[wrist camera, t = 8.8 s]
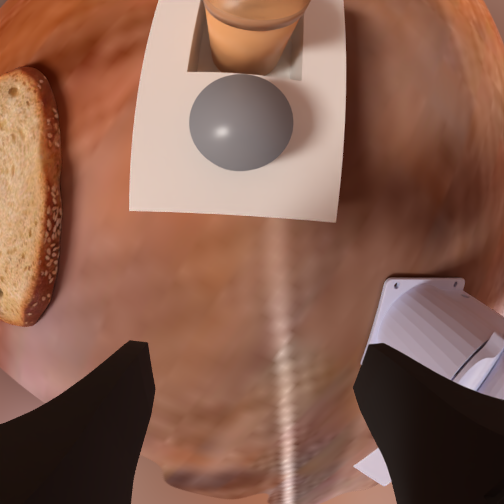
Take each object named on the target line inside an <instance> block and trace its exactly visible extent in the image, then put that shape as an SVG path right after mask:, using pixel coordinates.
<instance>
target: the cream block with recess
mask: <svg viewBox="0 0 504 504" xmlns="http://www.w3.org/2000/svg"><path fill="white" fill-rule="evenodd" d="M345 107H346V37H345V17H344V3H343V0H311V1H310V3H309V5H308V7H307V9H306V10H305V12H304V14H303V15H302V17H301V18H300V19H299V21H298V23H297V25H296V27H295V29H294V31H293V33H292V35H291V37H290V39H289V41H288V43H287V45H286V47H285V49H284V51H283V53H282V55H281V57H280V59H279V61H278V63H277V65H276V67H275V68H274V69H273V70H272V71H271V72H270V73H269V74H267V75H266V76H262V75H252V74H239V73H222V72H221V71H220V70H219V69H218V68H217V67H216V66H215V64H214V62H213V59H212V54H211V47H210V39H209V32H208V25H207V17H206V10H205V6H204V3H203V0H159V1H158V5H157V8H156V11H155V15H154V18H153V22H152V26H151V30H150V34H149V38H148V42H147V47H146V51H145V56H144V61H143V66H142V72H141V77H140V83H139V89H138V96H137V103H136V111H135V119H134V128H133V139H132V151H131V167H130V193H129V211H157V212H185V213H208V214H227V215H244V216H260V217H274V218H287V219H300V220H312V221H323V222H334V223H336V217H337V209H338V200H339V191H340V181H341V171H342V159H343V146H344V129H345Z"/></svg>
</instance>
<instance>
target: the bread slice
mask: <svg viewBox="0 0 504 504" xmlns="http://www.w3.org/2000/svg"><path fill="white" fill-rule="evenodd" d="M61 169H62V156H61V136H60V128H59V118H58V110H57V105H56V101H55V98H54V95H53V91H52V89H51V87H50V84H49V82H48V80H47V78H46V77H45V76H44V75H43V73H42V72H40V71H39V70H37V69H36V68H33V67H27V66H24V67H18V68H15V69H14V70H12V71H9V72H6V73H4V74H2V75H1V76H0V320H1V321H3V322H6V323H8V324H12V325H17V326H22V327H28V326H33V325H34V324H35V323H36V322H37V321H38V319H39V317H40V316H41V314H42V313H43V311H44V310H45V309H46V307H47V306H48V304H49V302H50V300H51V296H52V292H53V288H54V284H55V280H56V276H57V272H58V258H59V253H60V235H61V219H62V214H63V208H62V199H61V193H60V174H61Z"/></svg>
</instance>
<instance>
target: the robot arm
mask: <svg viewBox="0 0 504 504" xmlns="http://www.w3.org/2000/svg"><path fill="white" fill-rule="evenodd" d="M396 283H397V285H396V286H395V287H394V285H395V284H396ZM464 285H465V280H464V279H463V278H396V277H391V278H388V279H387V280H386V281H385V283H384V286H383V290H382V294H381V298H380V302H379V306H378V309H377V313H376V316H375V320H374V323H373V327H372V330H371V333H370V336H369V340H368V343H367V346H366V349H365V352H364V355H363V358H362V360H361V368H360V371H359V373H358V376H357V378H356V381H355V384H354V386H353V389H354V393H355V396H356V399H357V402H358V405H359V408H360V411H361V413H362V415H363V417H364V419H365V421H366V423H367V425H368V428H369V430H370V432H371V434H372V436H373V438H374V440H375V442H376V444H377V446H378V448H379V450H380V452H381V454H382V456H383V458H384V461H385V463H386V466H387V469H388V472H389V475H390V478H391V481H392V485H393V489H394V492H395V497H396V501H397V504H504V317H503V316H501V315H500V314H499V313H497V312H496V311H494V310H493V309H491V308H490V307H488V306H487V305H485V304H483V303H482V302H480V301H479V300H477V299H476V298H474V297H473V296H471V295H469V294H468V293H466V292H465V291H463V288H464ZM154 395H155V384H154V378H153V373H152V367H151V361H150V354H149V347H148V343H147V342H139V341H131V340H130V341H128V342H127V343H126V344H124V345H123V346H122V347H121V348H120V349H118V350H117V351H116V352H115V353H114V354H113V355H111V356H110V357H109V358H108V359H107V360H105V361H104V362H103V363H102V364H100V365H99V366H98V367H97V368H95V369H94V370H93V371H92V372H91V373H89V374H88V375H87V376H85V377H84V378H83V379H81V380H80V381H79V382H77V383H76V384H74V385H73V386H72V387H70V388H69V389H67V390H66V391H65V392H63V393H62V394H60V395H59V396H57V397H56V398H54V399H52V400H51V401H49V402H47V403H45V404H44V405H42V406H40V407H39V408H37V409H35V410H33V411H31V412H29V413H26V414H24V415H22V416H20V417H17V418H15V419H13V420H10V421H8V422H6V423H3V424H0V504H131V496H132V488H133V480H134V475H135V470H136V466H137V462H138V458H139V455H140V452H141V448H142V445H143V441H144V438H145V434H146V431H147V427H148V424H149V421H150V417H151V413H152V407H153V401H154Z"/></svg>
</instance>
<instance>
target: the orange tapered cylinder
mask: <svg viewBox="0 0 504 504" xmlns="http://www.w3.org/2000/svg"><path fill="white" fill-rule="evenodd" d="M310 1H311V0H203V3H204V6H205V10H206V17H207V25H208V32H209V39H210V47H211V54H212V59H213V62H214V64H215V66H216V67H217V68H218V69H219V70H220V71H221V72H222V73H239V74H252V75H262V76H266V75H267V74H269V73H270V72H271V71H272V70H273V69H274V68H275V67H276V65H277V63H278V61H279V59H280V57H281V55H282V53H283V51H284V49H285V47H286V45H287V43H288V41H289V39H290V37H291V35H292V33H293V31H294V29H295V27H296V25H297V23H298V21H299V19H300V18H301V17H302V15H303V14H304V12H305V10H306V9H307V7H308V5H309V3H310Z"/></svg>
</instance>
